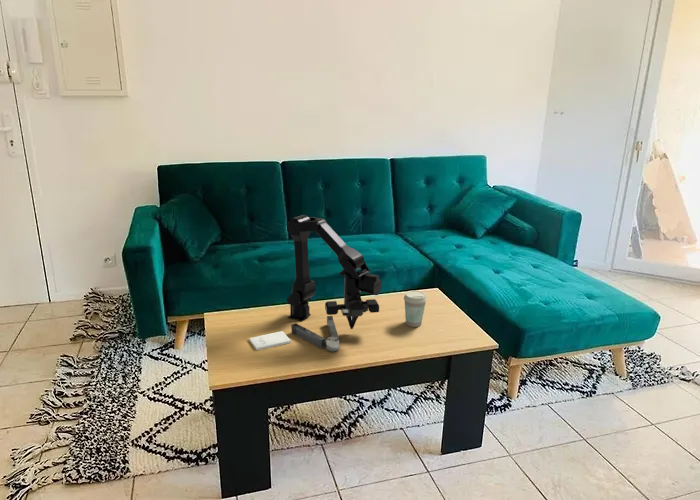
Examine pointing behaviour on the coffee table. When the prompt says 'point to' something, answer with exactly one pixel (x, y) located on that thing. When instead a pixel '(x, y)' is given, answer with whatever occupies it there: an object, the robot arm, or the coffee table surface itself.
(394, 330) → the coffee table surface
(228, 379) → the coffee table surface
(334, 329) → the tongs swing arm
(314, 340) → the tongs fixed arm
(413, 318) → the coffee cup
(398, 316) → the coffee table surface
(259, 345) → the external hard drive
